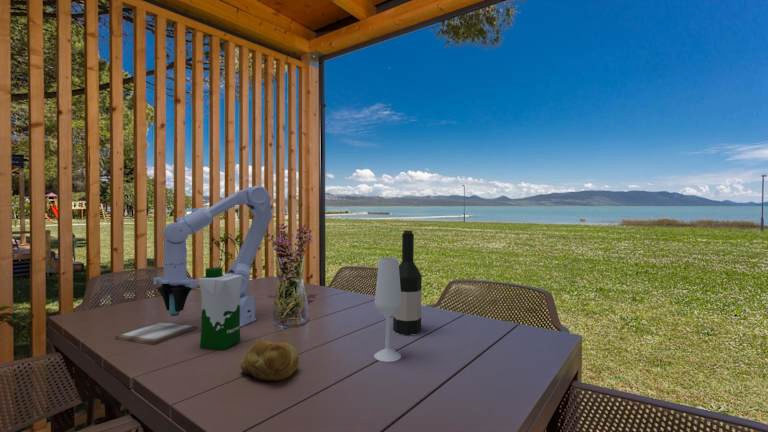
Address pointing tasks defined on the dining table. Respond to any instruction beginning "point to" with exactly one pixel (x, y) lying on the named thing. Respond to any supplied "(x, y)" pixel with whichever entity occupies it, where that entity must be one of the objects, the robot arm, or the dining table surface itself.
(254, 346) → the bread roll
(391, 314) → the champagne flute
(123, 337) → the writing board
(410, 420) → the dining table surface
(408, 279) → the wine bottle
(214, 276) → the milk carton
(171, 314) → the marker
